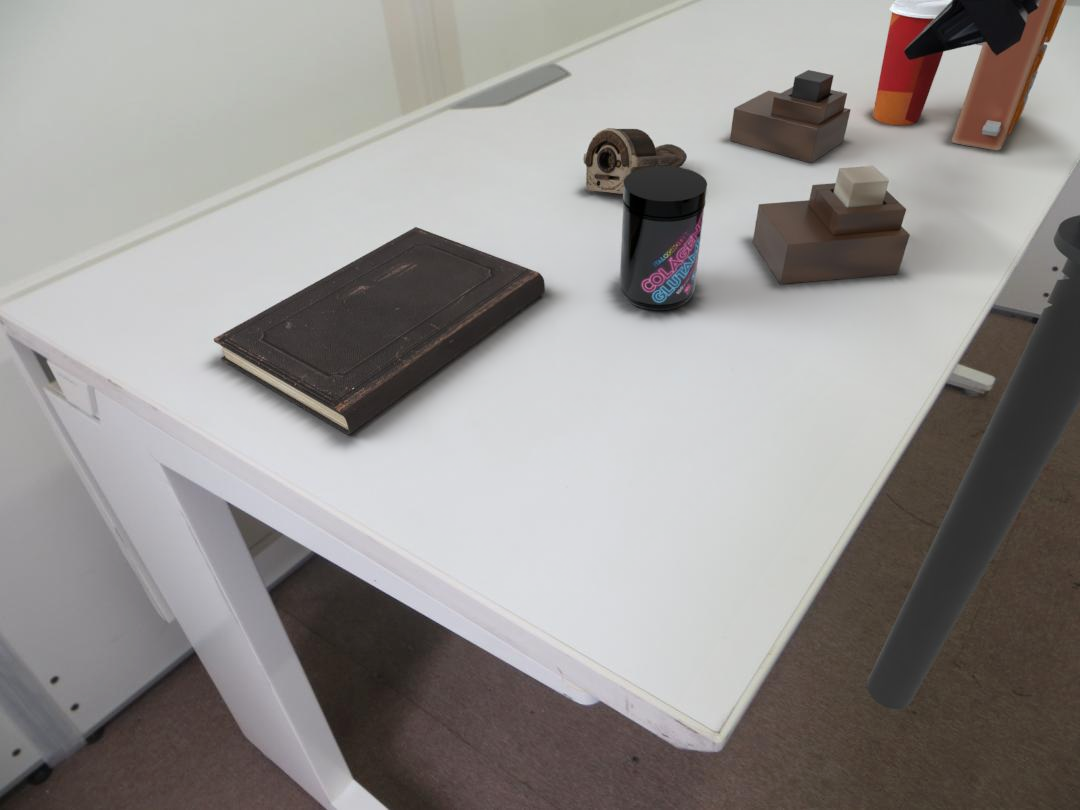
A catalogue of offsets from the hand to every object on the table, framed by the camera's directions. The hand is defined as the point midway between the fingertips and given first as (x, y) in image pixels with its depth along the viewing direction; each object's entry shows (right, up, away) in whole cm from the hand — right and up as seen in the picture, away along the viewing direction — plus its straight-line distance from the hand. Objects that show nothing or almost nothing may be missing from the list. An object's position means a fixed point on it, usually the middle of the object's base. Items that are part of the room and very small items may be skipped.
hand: (906, 54), depth 73 cm
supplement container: (-25, -24, -5) cm, 35 cm away
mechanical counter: (-24, -9, +12) cm, 29 cm away
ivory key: (-7, -15, -5) cm, 18 cm away
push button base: (-5, -2, +20) cm, 21 cm away
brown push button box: (-9, -20, -2) cm, 22 cm away
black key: (-4, +2, +15) cm, 16 cm away
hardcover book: (-48, -27, -8) cm, 56 cm away
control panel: (+19, 0, +21) cm, 28 cm away
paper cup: (+10, +3, +25) cm, 27 cm away
